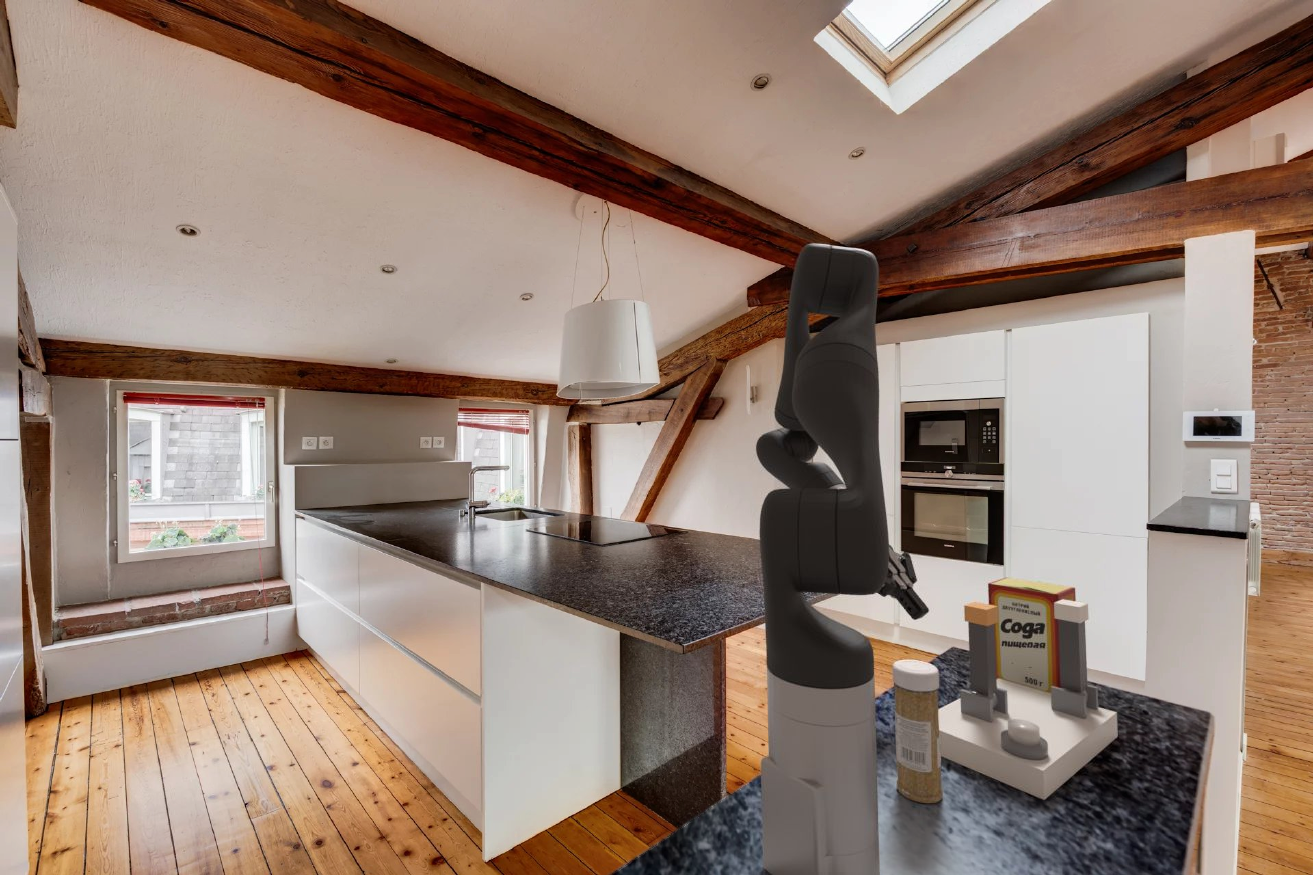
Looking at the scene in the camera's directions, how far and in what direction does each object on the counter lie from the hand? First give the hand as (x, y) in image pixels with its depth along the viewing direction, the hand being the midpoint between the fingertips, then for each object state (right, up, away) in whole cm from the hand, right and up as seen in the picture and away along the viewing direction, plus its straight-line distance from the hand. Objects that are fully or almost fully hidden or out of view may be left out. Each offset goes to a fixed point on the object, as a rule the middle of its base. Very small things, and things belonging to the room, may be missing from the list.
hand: (922, 615), depth 80 cm
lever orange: (+5, -10, -7) cm, 13 cm away
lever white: (+17, -10, -6) cm, 20 cm away
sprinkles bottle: (-9, -13, -19) cm, 25 cm away
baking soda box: (+20, -14, +7) cm, 26 cm away
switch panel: (+8, -13, -8) cm, 17 cm away
